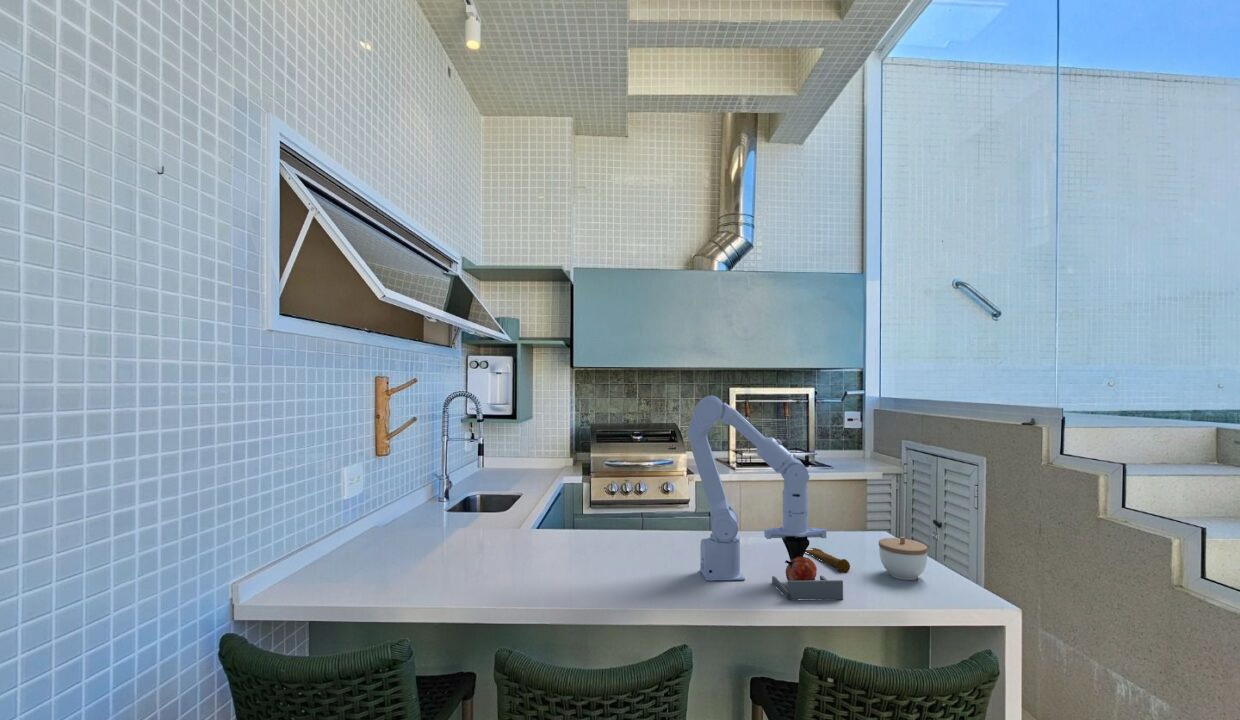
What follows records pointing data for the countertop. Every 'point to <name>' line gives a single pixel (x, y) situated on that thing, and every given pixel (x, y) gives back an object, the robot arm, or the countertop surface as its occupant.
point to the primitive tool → (830, 560)
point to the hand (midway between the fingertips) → (795, 568)
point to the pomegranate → (800, 569)
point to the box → (811, 589)
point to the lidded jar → (903, 557)
